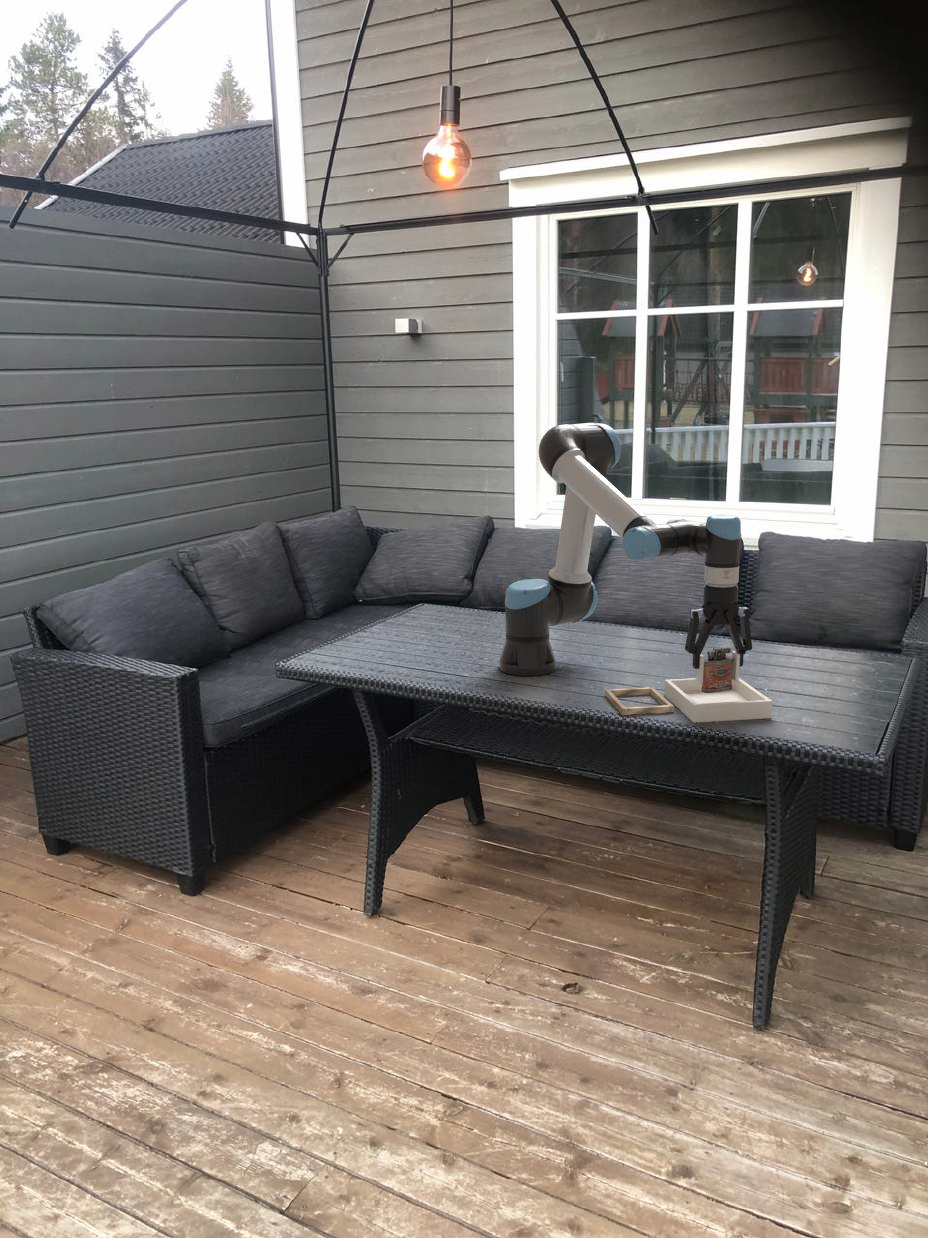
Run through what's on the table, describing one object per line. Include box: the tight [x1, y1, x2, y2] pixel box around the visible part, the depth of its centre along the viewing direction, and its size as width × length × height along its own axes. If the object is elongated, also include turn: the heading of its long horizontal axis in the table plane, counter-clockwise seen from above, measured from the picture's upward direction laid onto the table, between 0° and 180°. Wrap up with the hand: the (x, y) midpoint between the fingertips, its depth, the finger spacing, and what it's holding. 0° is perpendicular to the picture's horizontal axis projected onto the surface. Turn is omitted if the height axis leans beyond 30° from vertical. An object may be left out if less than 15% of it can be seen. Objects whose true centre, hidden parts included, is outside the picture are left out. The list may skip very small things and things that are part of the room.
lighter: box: [701, 646, 734, 693], centre depth 222 cm, size 8×3×10 cm, turn 113°
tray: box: [663, 677, 773, 724], centre depth 224 cm, size 18×20×4 cm
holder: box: [604, 686, 675, 716], centre depth 227 cm, size 12×15×2 cm
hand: (717, 680), depth 223 cm, fingers closed on lighter, 8 cm apart
